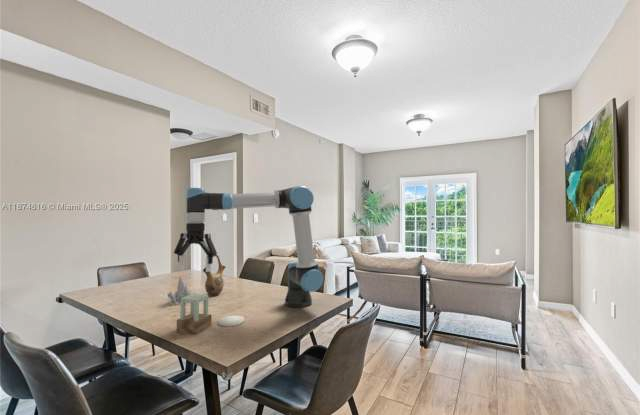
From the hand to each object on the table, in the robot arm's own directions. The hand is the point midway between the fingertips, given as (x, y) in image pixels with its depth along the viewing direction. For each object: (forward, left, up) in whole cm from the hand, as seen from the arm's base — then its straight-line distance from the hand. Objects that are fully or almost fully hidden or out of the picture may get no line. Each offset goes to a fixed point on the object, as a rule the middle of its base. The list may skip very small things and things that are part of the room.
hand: (194, 270), depth 136 cm
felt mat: (-12, -11, -25) cm, 30 cm away
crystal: (+33, -30, -25) cm, 51 cm away
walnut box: (-1, +1, -25) cm, 25 cm away
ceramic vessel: (+23, -50, -25) cm, 60 cm away
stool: (-1, +1, -20) cm, 20 cm away
